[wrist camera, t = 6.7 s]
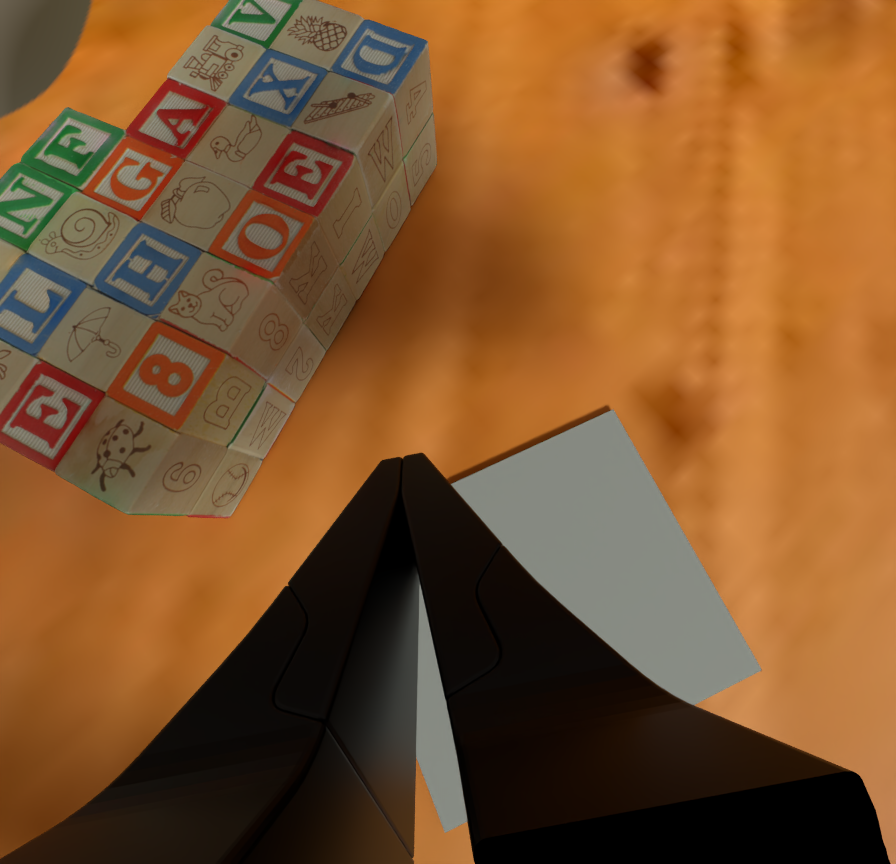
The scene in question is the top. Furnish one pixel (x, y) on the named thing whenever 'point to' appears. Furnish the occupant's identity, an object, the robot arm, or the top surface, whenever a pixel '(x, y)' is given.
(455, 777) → the grey rubber mat
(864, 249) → the top surface
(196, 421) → the stack of blocks
